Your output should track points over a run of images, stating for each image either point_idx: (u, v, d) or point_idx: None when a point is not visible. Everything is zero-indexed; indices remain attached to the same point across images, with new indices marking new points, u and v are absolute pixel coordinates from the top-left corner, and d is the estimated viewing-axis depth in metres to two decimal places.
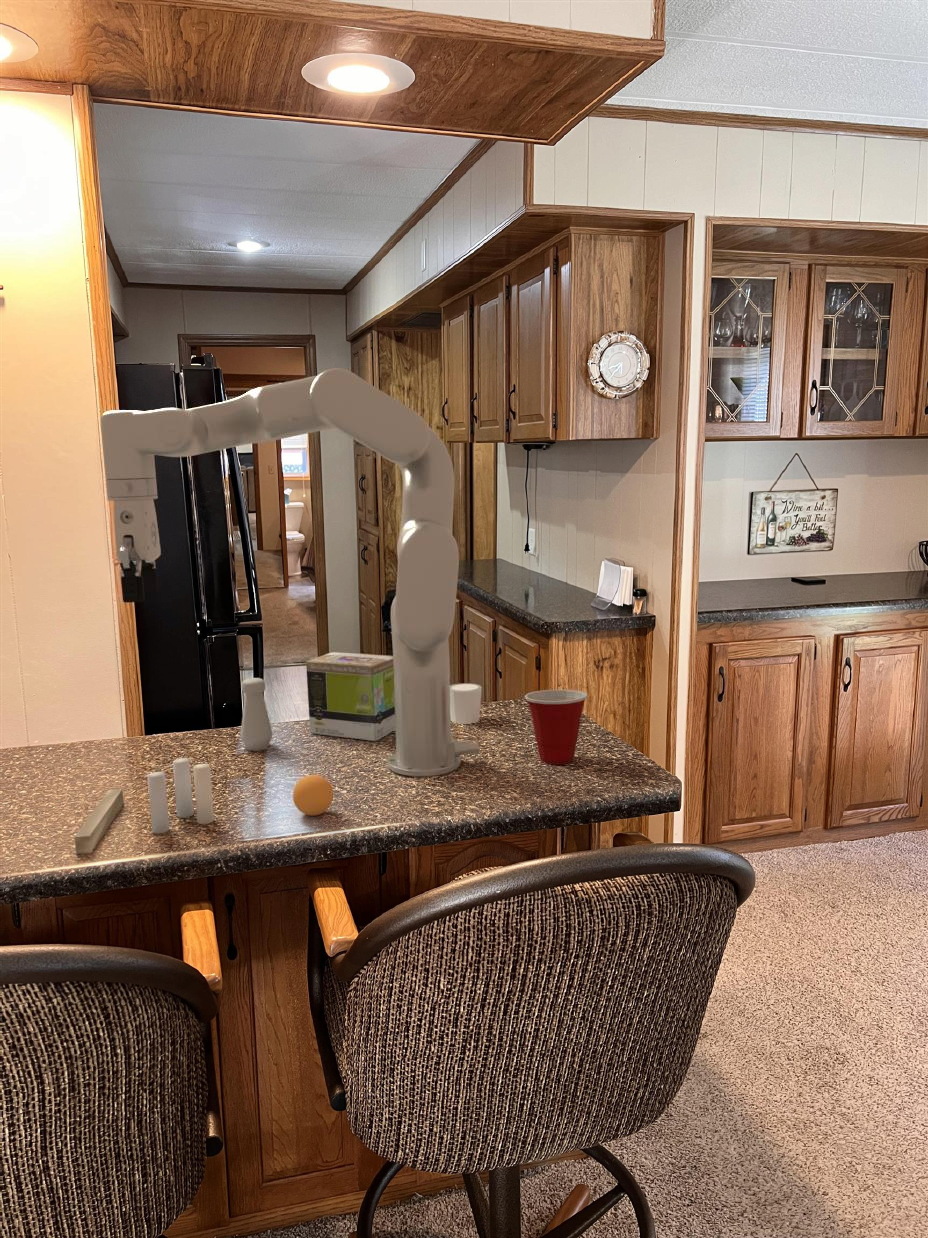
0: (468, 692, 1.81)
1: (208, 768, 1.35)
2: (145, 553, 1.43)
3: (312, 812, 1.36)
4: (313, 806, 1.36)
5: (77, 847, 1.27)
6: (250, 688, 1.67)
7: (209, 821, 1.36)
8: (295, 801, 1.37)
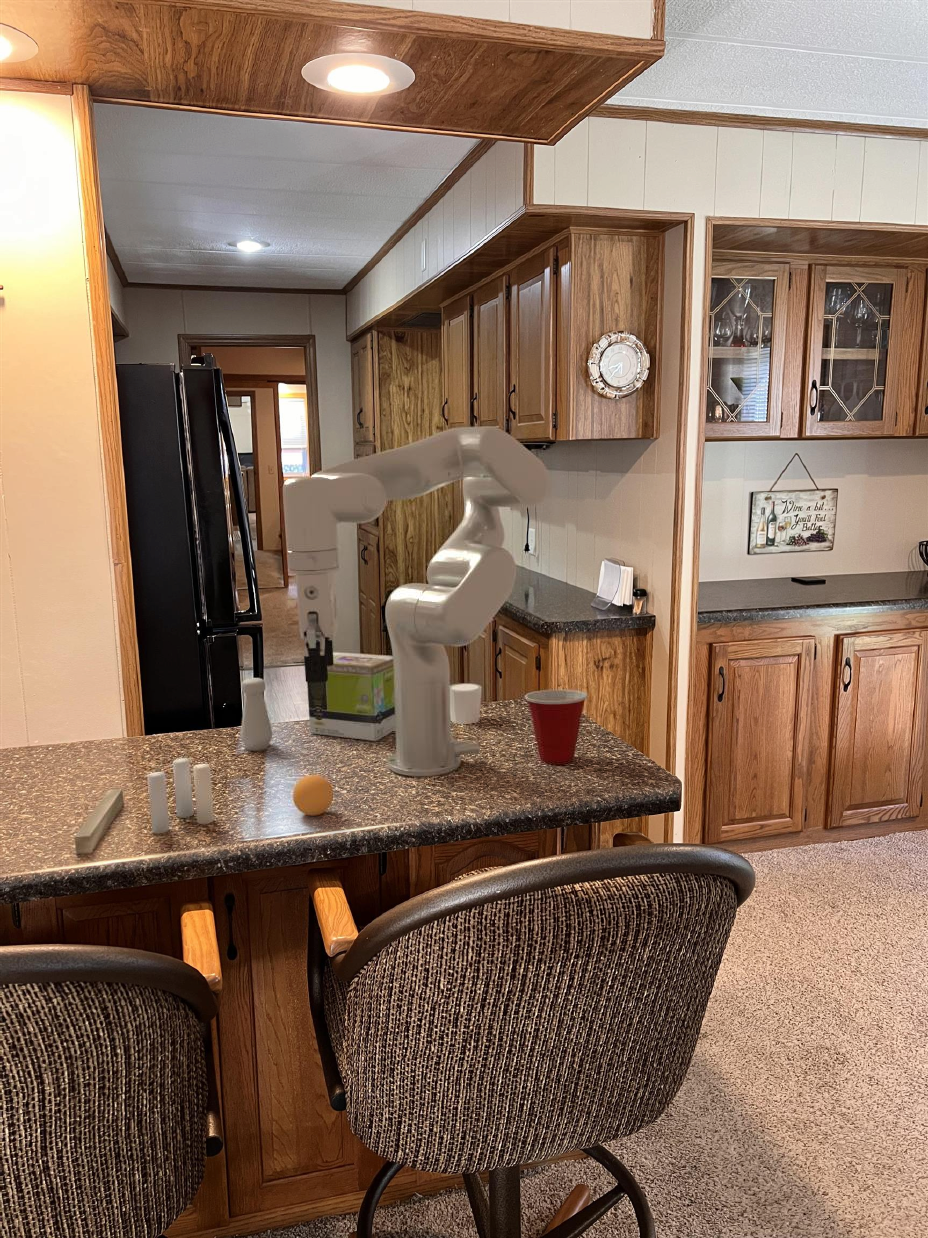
0: (468, 692, 1.81)
1: (208, 768, 1.35)
2: (330, 630, 1.33)
3: (312, 812, 1.36)
4: (313, 806, 1.36)
5: (77, 847, 1.27)
6: (250, 688, 1.67)
7: (209, 821, 1.36)
8: (295, 801, 1.37)
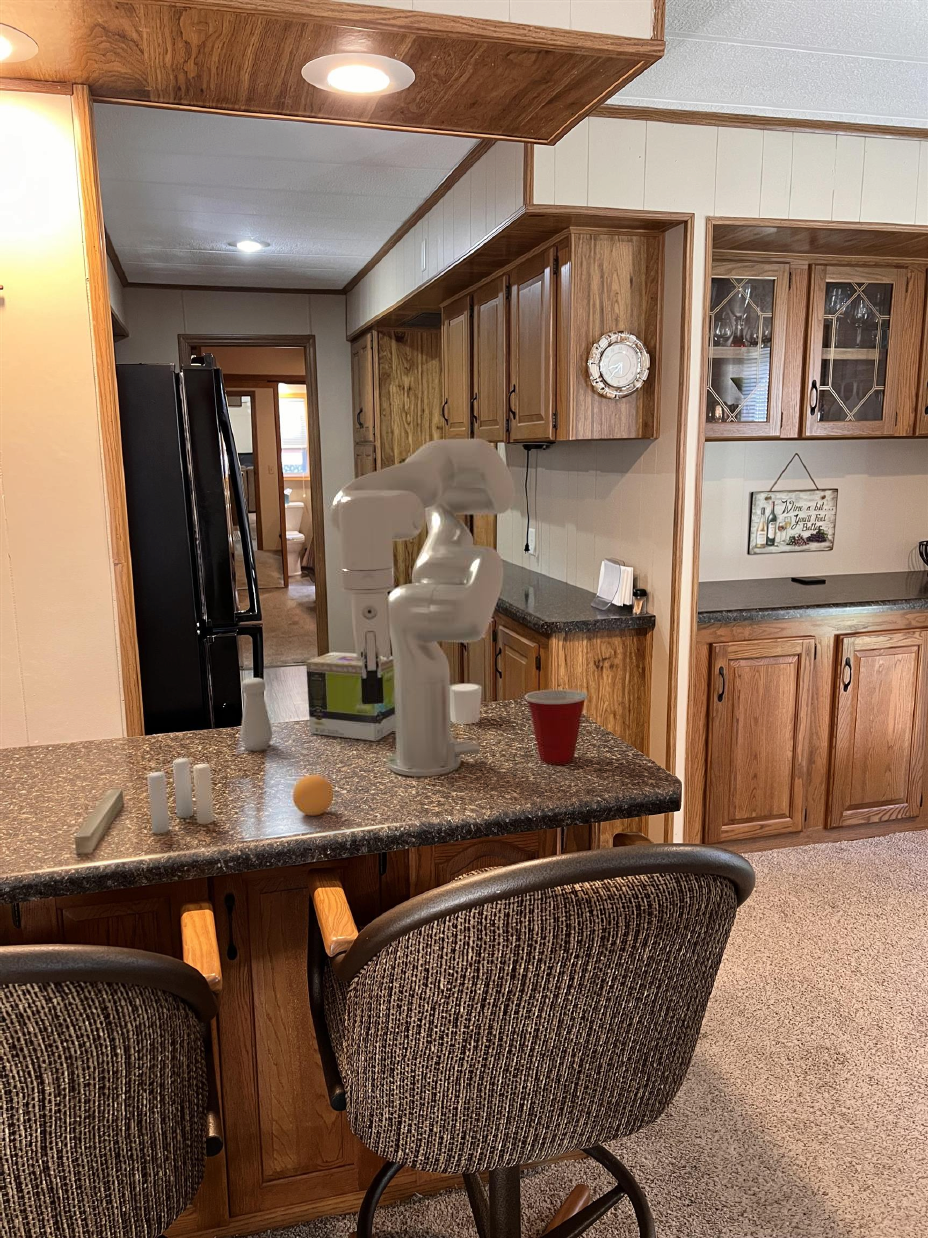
0: (468, 692, 1.81)
1: (208, 768, 1.35)
2: (387, 651, 1.31)
3: (312, 812, 1.36)
4: (313, 806, 1.36)
5: (77, 847, 1.27)
6: (250, 688, 1.67)
7: (209, 821, 1.36)
8: (295, 801, 1.37)
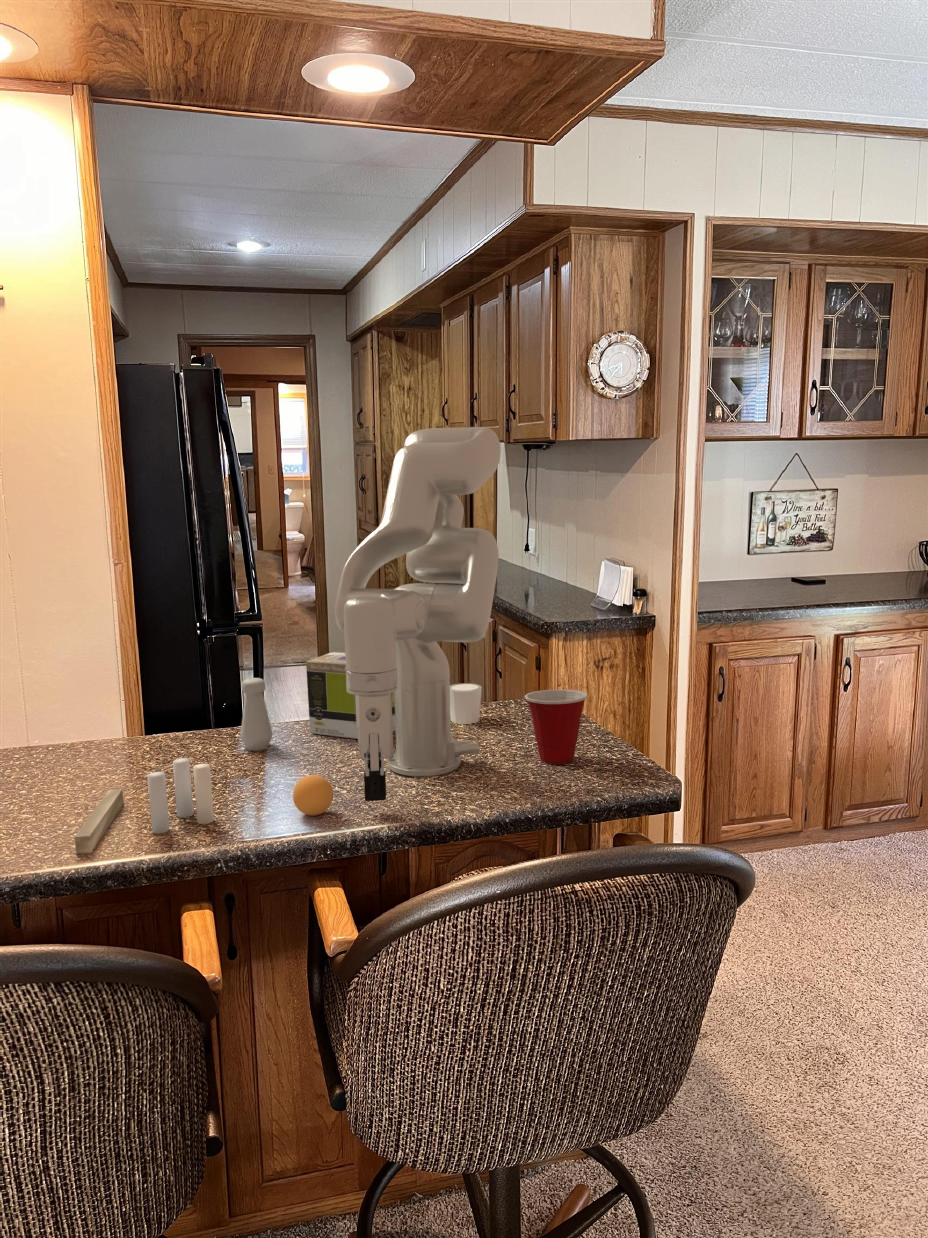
0: (468, 692, 1.81)
1: (208, 768, 1.35)
2: (390, 752, 1.33)
3: (312, 812, 1.36)
4: (313, 806, 1.36)
5: (77, 847, 1.27)
6: (250, 688, 1.67)
7: (209, 821, 1.36)
8: (295, 801, 1.37)
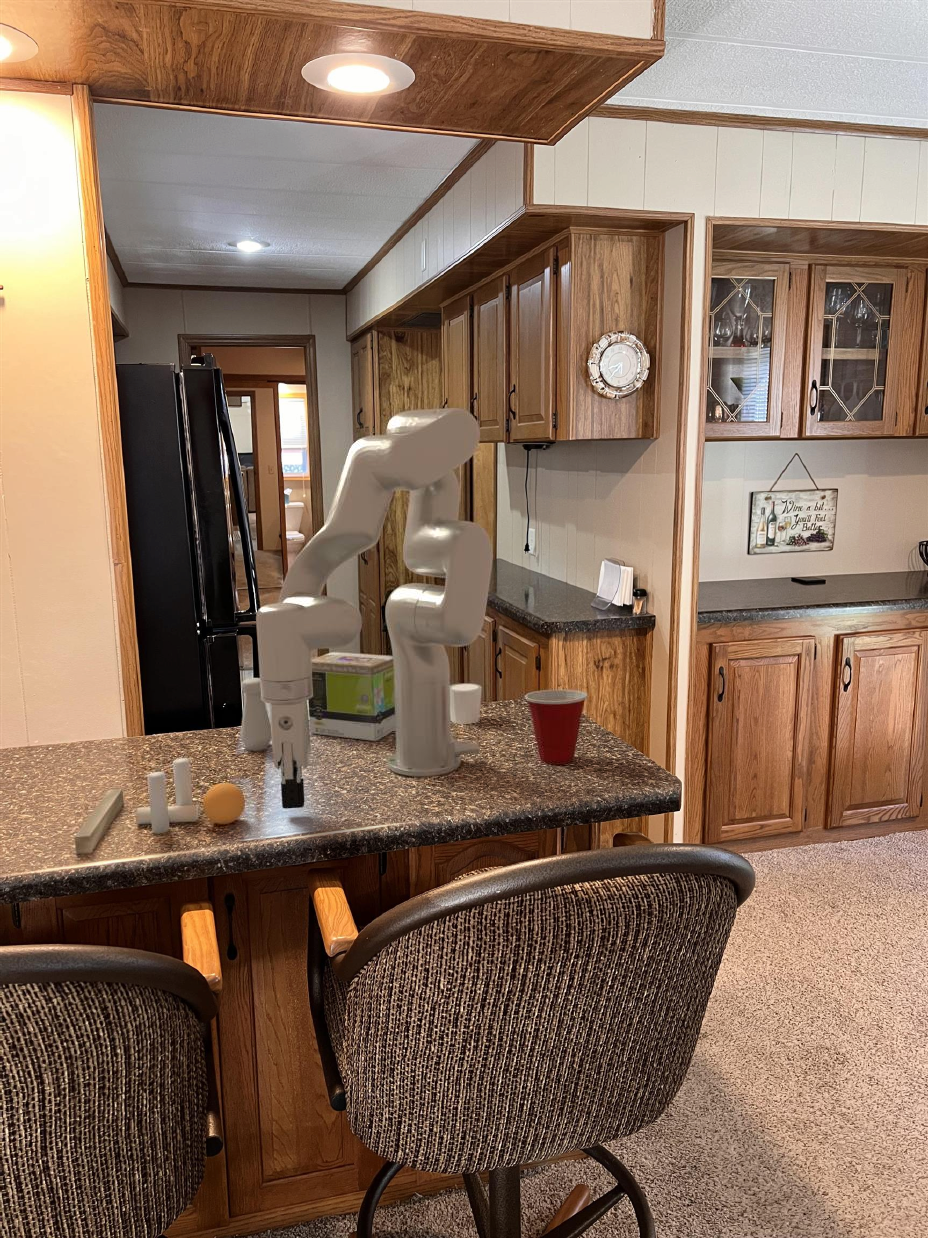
0: (468, 692, 1.81)
1: (139, 808, 1.37)
2: (304, 760, 1.32)
3: (212, 806, 1.33)
4: (219, 813, 1.33)
5: (77, 847, 1.27)
6: (250, 688, 1.67)
7: (193, 808, 1.37)
8: (232, 795, 1.34)
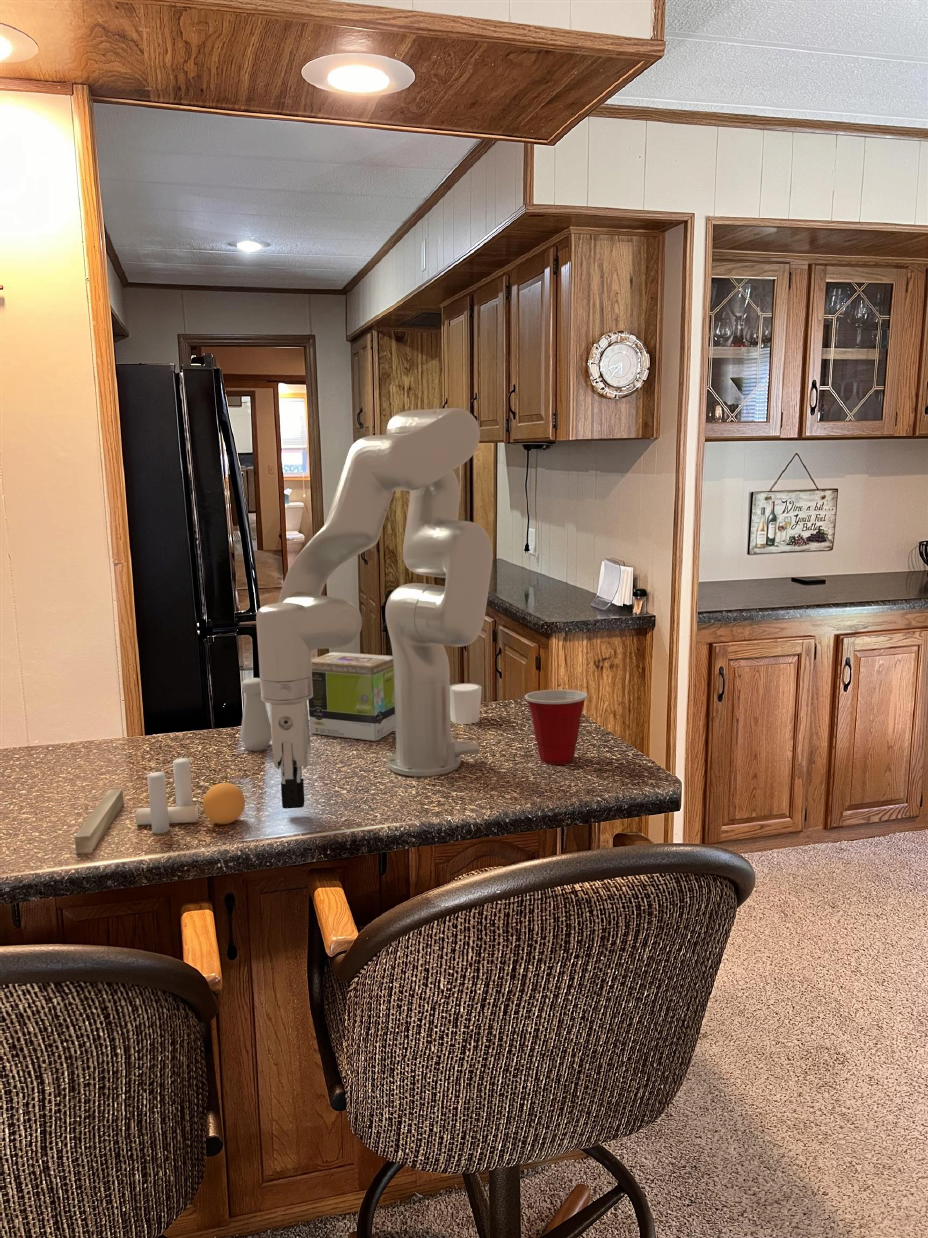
0: (468, 692, 1.81)
1: (138, 810, 1.36)
2: (304, 760, 1.32)
3: (212, 806, 1.33)
4: (219, 813, 1.33)
5: (77, 847, 1.27)
6: (250, 688, 1.67)
7: (192, 810, 1.36)
8: (232, 795, 1.34)
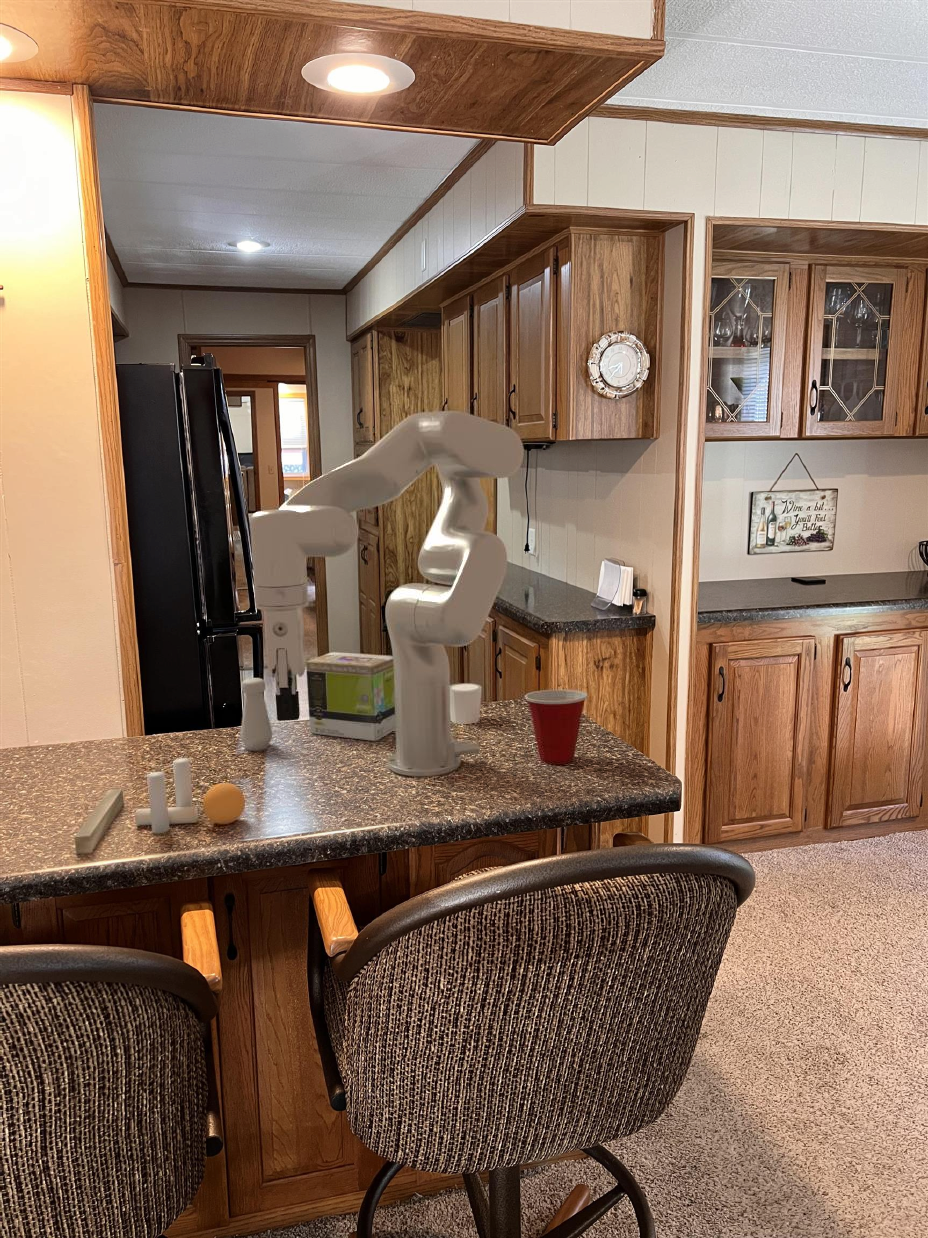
0: (468, 692, 1.81)
1: (137, 811, 1.36)
2: (299, 668, 1.30)
3: (212, 806, 1.33)
4: (219, 813, 1.33)
5: (77, 847, 1.27)
6: (250, 688, 1.67)
7: (192, 812, 1.36)
8: (232, 795, 1.34)
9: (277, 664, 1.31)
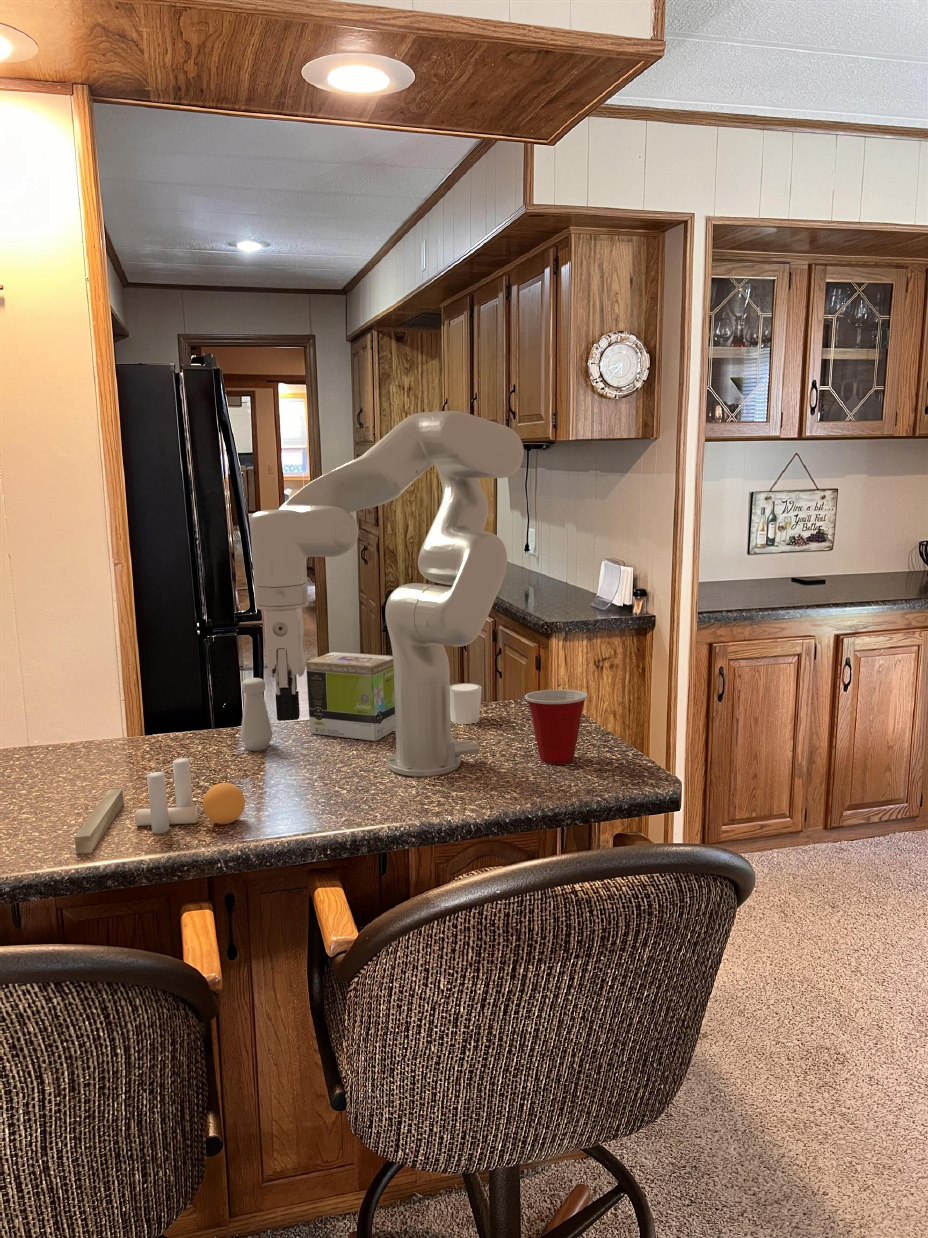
0: (468, 692, 1.81)
1: (136, 812, 1.36)
2: (299, 668, 1.30)
3: (212, 806, 1.33)
4: (219, 813, 1.33)
5: (77, 847, 1.27)
6: (250, 688, 1.67)
7: (192, 813, 1.36)
8: (232, 795, 1.34)
9: (277, 664, 1.31)
